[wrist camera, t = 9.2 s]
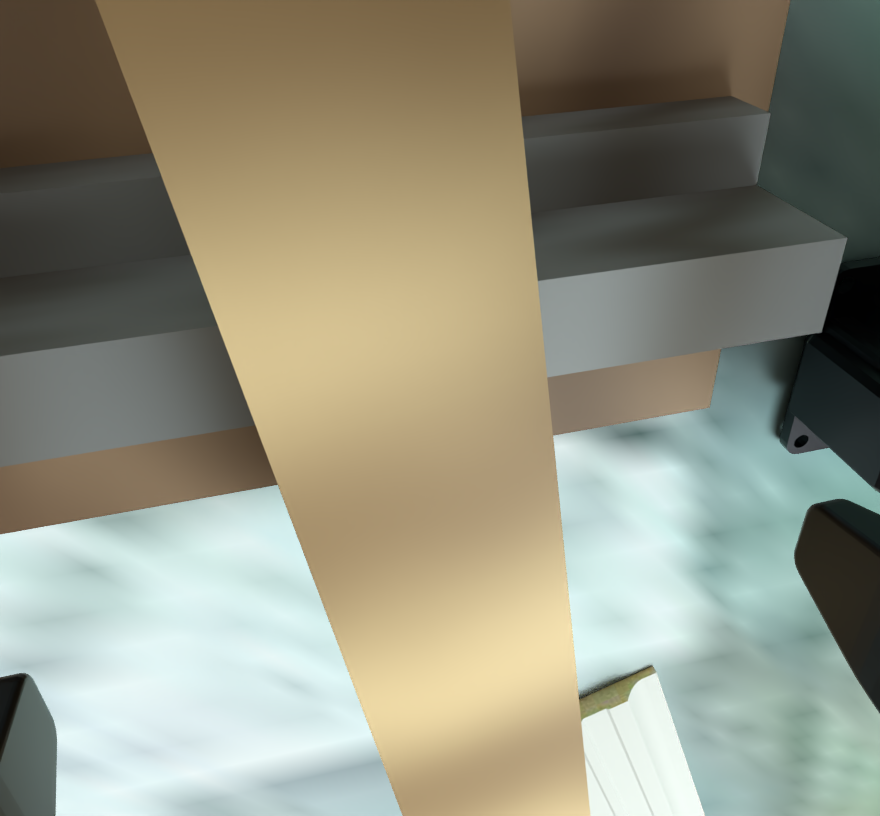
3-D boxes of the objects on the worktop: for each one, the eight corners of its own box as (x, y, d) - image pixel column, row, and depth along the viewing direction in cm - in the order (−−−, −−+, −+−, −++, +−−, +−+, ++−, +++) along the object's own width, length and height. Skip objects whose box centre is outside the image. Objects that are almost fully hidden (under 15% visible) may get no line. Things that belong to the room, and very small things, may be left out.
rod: (527, 674, 20) (591, 831, 17) (391, 718, 19) (430, 888, 16) (337, -516, 8) (435, -764, 5) (-18, -463, 8) (-168, -694, 4)
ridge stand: (766, -98, 17) (991, -81, 12) (683, 379, 24) (807, 511, 19) (-317, -45, 13) (-606, 10, 8) (-48, 504, 20) (-123, 706, 15)
